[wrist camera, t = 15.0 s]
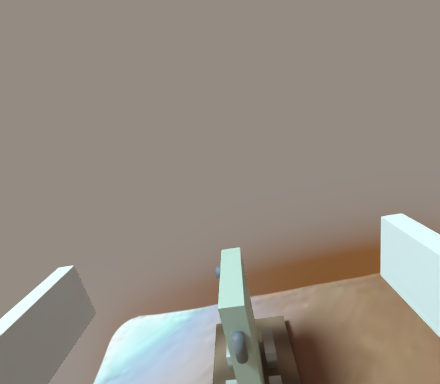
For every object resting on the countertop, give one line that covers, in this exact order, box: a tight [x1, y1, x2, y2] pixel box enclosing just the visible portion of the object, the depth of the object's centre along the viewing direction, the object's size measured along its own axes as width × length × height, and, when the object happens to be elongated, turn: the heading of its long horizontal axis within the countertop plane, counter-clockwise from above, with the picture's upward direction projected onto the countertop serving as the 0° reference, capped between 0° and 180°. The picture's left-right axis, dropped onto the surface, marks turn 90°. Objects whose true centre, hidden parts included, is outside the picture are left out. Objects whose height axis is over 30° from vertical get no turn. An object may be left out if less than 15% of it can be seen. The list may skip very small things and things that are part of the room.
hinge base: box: [213, 316, 301, 384], centre depth 31 cm, size 20×12×4 cm, turn 178°
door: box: [215, 248, 265, 384], centre depth 28 cm, size 11×4×18 cm, turn 178°
